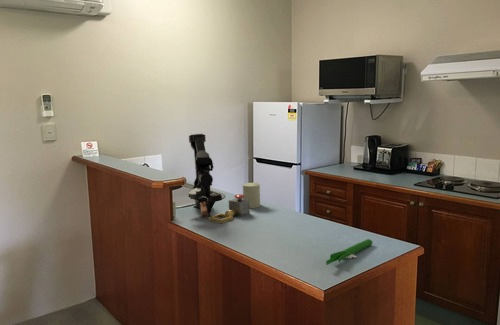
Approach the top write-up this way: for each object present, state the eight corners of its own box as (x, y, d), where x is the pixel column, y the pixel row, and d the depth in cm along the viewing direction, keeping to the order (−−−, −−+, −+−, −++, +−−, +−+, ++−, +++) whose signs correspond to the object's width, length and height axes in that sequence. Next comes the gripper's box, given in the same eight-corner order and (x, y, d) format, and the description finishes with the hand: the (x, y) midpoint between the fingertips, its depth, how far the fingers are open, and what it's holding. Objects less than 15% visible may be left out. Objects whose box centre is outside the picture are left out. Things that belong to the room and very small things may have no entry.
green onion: (364, 246, 155) (320, 267, 134) (364, 237, 155) (320, 257, 133) (376, 249, 152) (333, 270, 130) (376, 240, 152) (333, 261, 130)
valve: (221, 216, 198) (220, 198, 197) (238, 211, 207) (238, 193, 205) (233, 219, 193) (232, 200, 191) (250, 213, 201) (249, 195, 200)
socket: (209, 220, 192) (208, 217, 192) (221, 216, 198) (221, 213, 198) (220, 223, 187) (220, 220, 186) (233, 219, 192) (233, 216, 192)
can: (260, 207, 212) (259, 185, 210) (242, 208, 212) (242, 185, 210) (260, 203, 221) (259, 181, 219) (243, 203, 221) (242, 182, 219)
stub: (198, 216, 200) (197, 202, 199) (206, 213, 203) (205, 200, 202) (205, 218, 196) (204, 203, 195) (213, 215, 200) (212, 201, 199)
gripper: (178, 182, 198) (180, 213, 200) (204, 186, 185) (205, 220, 187) (196, 178, 206) (198, 208, 208) (222, 182, 193) (223, 214, 195)
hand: (205, 212), depth 199 cm, fingers closed on stub, 4 cm apart
